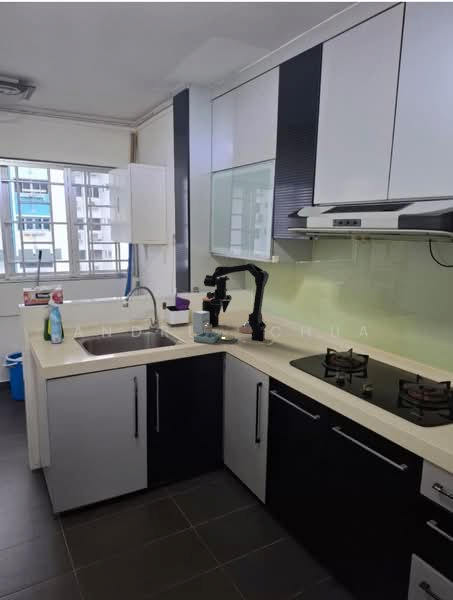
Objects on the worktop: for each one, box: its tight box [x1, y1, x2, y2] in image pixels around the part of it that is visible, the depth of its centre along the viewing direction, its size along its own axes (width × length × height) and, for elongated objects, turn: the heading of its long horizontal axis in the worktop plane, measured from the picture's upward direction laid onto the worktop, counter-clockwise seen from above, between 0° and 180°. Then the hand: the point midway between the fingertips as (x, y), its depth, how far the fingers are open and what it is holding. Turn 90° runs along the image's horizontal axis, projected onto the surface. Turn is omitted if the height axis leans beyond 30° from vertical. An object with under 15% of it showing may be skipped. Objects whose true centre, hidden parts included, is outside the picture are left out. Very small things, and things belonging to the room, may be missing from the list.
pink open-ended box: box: [238, 323, 253, 335], centre depth 243 cm, size 7×7×4 cm
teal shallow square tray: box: [193, 332, 223, 345], centre depth 226 cm, size 12×12×3 cm
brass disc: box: [220, 334, 236, 340], centre depth 224 cm, size 8×8×1 cm
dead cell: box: [243, 321, 250, 328], centre depth 243 cm, size 4×4×6 cm
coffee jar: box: [201, 296, 220, 328], centre depth 260 cm, size 11×11×18 cm
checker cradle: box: [216, 337, 238, 345], centre depth 224 cm, size 9×9×2 cm
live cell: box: [204, 324, 213, 338], centre depth 225 cm, size 4×4×9 cm
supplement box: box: [192, 310, 209, 334], centre depth 243 cm, size 7×7×13 cm
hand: (221, 313), depth 235 cm, fingers open, 9 cm apart
